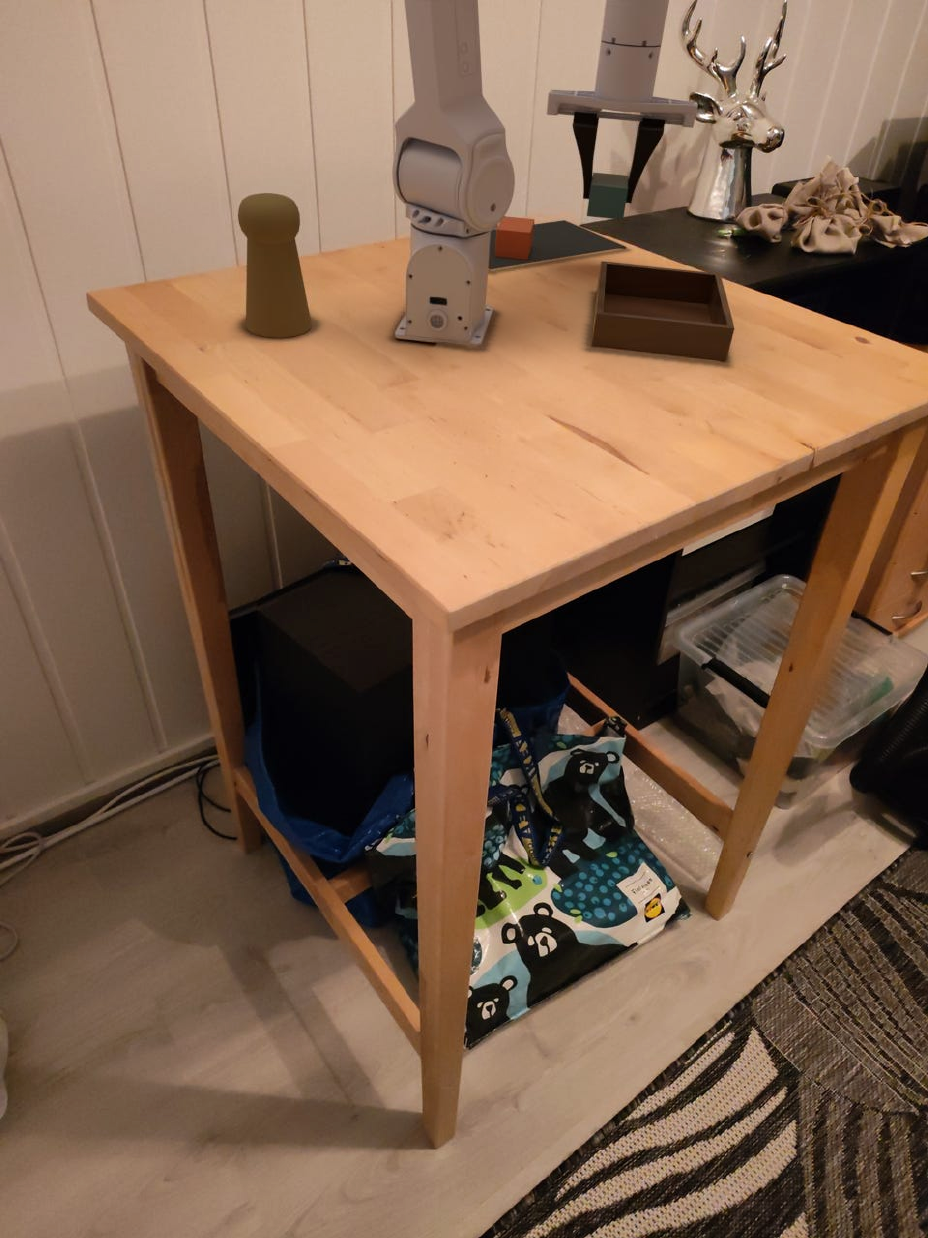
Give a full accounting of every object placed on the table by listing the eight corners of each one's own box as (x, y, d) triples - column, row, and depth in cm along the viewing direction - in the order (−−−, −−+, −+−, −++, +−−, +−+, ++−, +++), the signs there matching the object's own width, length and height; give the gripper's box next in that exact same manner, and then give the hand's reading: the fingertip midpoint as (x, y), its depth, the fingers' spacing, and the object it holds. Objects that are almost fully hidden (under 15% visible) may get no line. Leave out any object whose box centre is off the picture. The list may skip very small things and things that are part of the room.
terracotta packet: (527, 260, 94) (530, 232, 92) (494, 256, 95) (496, 228, 93) (531, 246, 98) (534, 218, 96) (500, 242, 99) (502, 215, 97)
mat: (625, 250, 100) (626, 246, 100) (490, 272, 92) (490, 268, 91) (564, 223, 108) (564, 219, 108) (433, 241, 99) (433, 237, 99)
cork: (306, 339, 75) (296, 207, 68) (238, 335, 75) (222, 202, 68) (316, 314, 80) (309, 188, 72) (253, 310, 79) (239, 184, 72)
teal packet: (623, 219, 86) (628, 188, 84) (586, 216, 87) (590, 184, 85) (623, 205, 90) (628, 175, 88) (588, 202, 91) (593, 172, 89)
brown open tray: (724, 365, 76) (734, 328, 73) (590, 349, 77) (596, 313, 74) (712, 306, 87) (720, 273, 85) (596, 293, 88) (601, 260, 86)
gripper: (705, 44, 81) (675, 195, 90) (558, 32, 83) (542, 182, 91) (710, 52, 76) (677, 213, 85) (552, 40, 77) (536, 199, 86)
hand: (607, 198), depth 88 cm, fingers closed on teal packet, 4 cm apart
